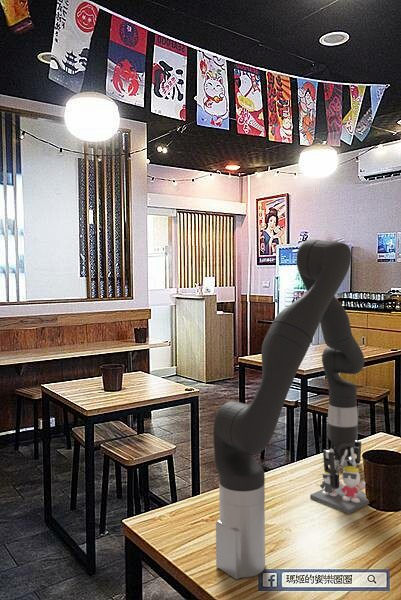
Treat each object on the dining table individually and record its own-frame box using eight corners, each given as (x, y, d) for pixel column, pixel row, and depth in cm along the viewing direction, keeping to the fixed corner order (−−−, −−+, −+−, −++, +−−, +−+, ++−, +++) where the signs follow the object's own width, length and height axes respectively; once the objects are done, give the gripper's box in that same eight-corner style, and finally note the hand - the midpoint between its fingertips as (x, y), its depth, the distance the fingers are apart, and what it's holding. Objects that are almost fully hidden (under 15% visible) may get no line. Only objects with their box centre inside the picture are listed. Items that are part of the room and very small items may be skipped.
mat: (349, 513, 126) (349, 510, 126) (310, 498, 135) (310, 494, 135) (375, 500, 134) (375, 496, 134) (337, 486, 143) (337, 482, 143)
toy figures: (317, 493, 136) (317, 462, 136) (324, 487, 140) (324, 457, 139) (361, 505, 129) (361, 473, 128) (367, 499, 132) (367, 467, 132)
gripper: (338, 430, 126) (338, 496, 127) (370, 419, 136) (370, 481, 136) (314, 423, 132) (314, 487, 133) (346, 414, 141) (346, 473, 142)
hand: (342, 484), depth 134 cm, fingers open, 6 cm apart
